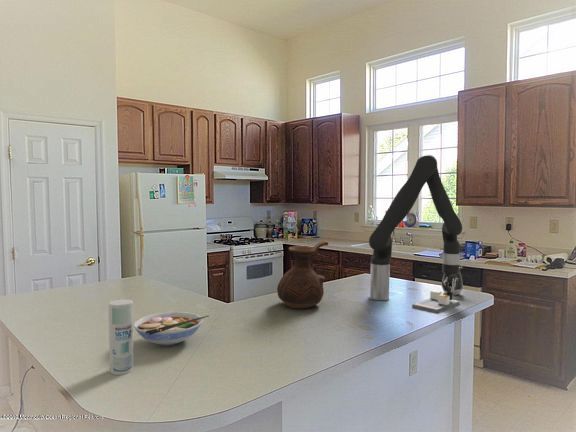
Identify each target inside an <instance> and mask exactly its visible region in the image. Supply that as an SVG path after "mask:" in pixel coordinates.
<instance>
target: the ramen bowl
mask: <svg viewBox="0 0 576 432" xmlns="http://www.w3.org/2000/svg"><path fill="white" fill-rule="evenodd" d="M208 317H210V315H205V316H204V315H203V316H200V315H198V314H197V313H193V312H186V311H167V312H160V313H158V312H157V313H152V314H149V315H146V316H143V317H140V318H138V319H137V320H135V321H134V322H133V328H135V330H136V332H137V333H138V334H139V335H140V336H141V337H142V338H143V339H144V340H145V341H147V342H148V343H152V344H156V345H159V346H167V347H168V346H169V347H170V346H174V345H177V344H179V343H181V342H184V341H186V340H188V339H189V338H191V337H192V336H194V335H195V333H196V332H197V331H198V330H199V328H200V326H201V325H202V324H203V319H205V318H208Z"/></svg>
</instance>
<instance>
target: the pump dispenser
mask: <svg viewBox="0 0 576 432" xmlns="http://www.w3.org/2000/svg"><path fill="white" fill-rule="evenodd" d="M463 269H464V267H463V266H460V272H459V274H456V275H457V277H456V278H458V279H459V281H458V284H457V287H456V290H454V292H453V296H458V295H460V294H461V293H462V290H463V289H464V285H463V283H464V282H463V276H462V273H461V270H463ZM444 280H445V273H443V276H442V281H444ZM442 281H441V282H442ZM441 288H442V291H443V292H444V294H445V295H447V291H445V290H444V287H443V285H442V284H441Z"/></svg>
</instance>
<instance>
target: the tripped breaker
mask: <svg viewBox="0 0 576 432" xmlns="http://www.w3.org/2000/svg"><path fill="white" fill-rule="evenodd" d="M449 301H450V296H448V295H447V294H442V293H441V294H440V295H438V304H443V305H448V304H449Z"/></svg>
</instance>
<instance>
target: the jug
mask: <svg viewBox="0 0 576 432" xmlns="http://www.w3.org/2000/svg"><path fill="white" fill-rule="evenodd" d="M323 246H324V247H325V246H329V241H328V240H326V239H323V240H320V241H318V243H317V244H316V245H313V246H308V245H294V246H289V247H288V251H289V252H291V253H293V256H294V264H293V266H292V267H291V268H290V269H289V270H288V271H286V272H285V273H284V274H283V276H282V277H281V279H280V280H279V282H278V284H277V288H276V289H277V291H276V292H277V296H278V299H280V301H281V302H283V303H284V304H285V306H287V307H289V308H291V309H298V310H299V309H309V308H312V307H314V306H316V305H318V304H319V303H320V302H322V299H323V297H324V293H325V292H324V291H325V290H324V280H325V275H321V274H317V273H316V271H315V270H313V269H312V266H311V262H310V260H311V256H313V255H314V254H316V253H317V252H318V251H319V249H320V248H321V247H323Z"/></svg>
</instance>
